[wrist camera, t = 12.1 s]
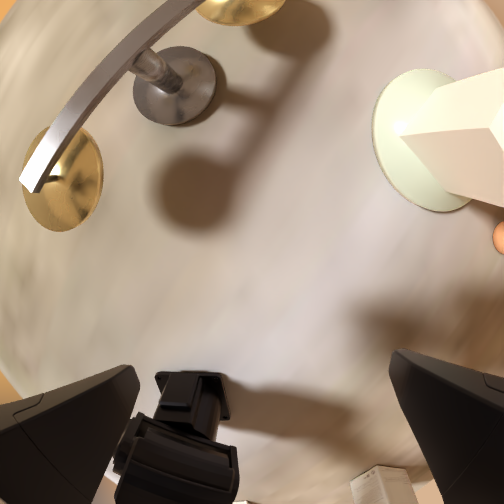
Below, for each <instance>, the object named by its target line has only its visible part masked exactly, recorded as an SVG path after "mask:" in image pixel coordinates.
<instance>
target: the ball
mask: <svg viewBox="0 0 504 504" xmlns="http://www.w3.org/2000/svg"><path fill="white" fill-rule="evenodd" d="M493 242H494V245H495V247H496V249H497V250H498V251H499V252H500V253H502V254H504V221H503V222H501V223H499V224H498V225H497V226H496V228H495V230H494V233H493Z"/></svg>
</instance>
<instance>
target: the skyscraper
mask: <svg viewBox="0 0 504 504" xmlns="http://www.w3.org/2000/svg"><path fill="white" fill-rule="evenodd" d="M233 504H251V503H249V502H248V501H247V500H243V501H234V502H233Z"/></svg>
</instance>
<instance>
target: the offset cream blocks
mask: <svg viewBox="0 0 504 504" xmlns="http://www.w3.org/2000/svg"><path fill="white" fill-rule="evenodd" d="M399 137H400V138H401V140H402V141H403V142H404V143H405V144H406V145H407V146H408V147H409V148H410V149H411V151H412V152H413V153H414V154H415V155H416V156H417V157H418V158H419V160H420V161H421V162H422V163H423V164H424V166H425V167H426V168H427V169H428V170H429V172H430V173H431V174H432V175H433V176H434V178H435V179H436V180H437V182H438V183H439V184H440V185H441V187H442V188H443V189H444V191H445V192H449V193H453V194H457V195H461V196H465V197H469V198H472V199H476V200H479V201H483V202H486V203H490V204H493V205H496V206H500V207H503V208H504V68H500V69H496V70H493V71H489V72H486V73H482V74H479V75H476V76H472V77H469V78H466V79H463V80H459V81H456V82H453V83H450V84H447V85H444V86H441V87H438V88H436V89H435V90H434V92H433V93H432V94H431V96H430V97H429V98H428V100H427V101H426V102H425V103H424V105H423V106H422V107H421V109H420V110H419V111H418V112H417V114H416V115H415V116H414V117H413V119H412V120H411V121H410V123H409V124H408V125H407V126H406V128H405V129H404V130H403V131H402V133H401V134H400V135H399Z"/></svg>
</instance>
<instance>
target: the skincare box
mask: <svg viewBox="0 0 504 504" xmlns="http://www.w3.org/2000/svg"><path fill="white" fill-rule="evenodd" d="M350 487H351V491H352V495H353V499H354V503H355V504H418V501H417V498H416V496H415V493H414V490H413V488H412V485H411V482H410V480H409V477H408V475H407V472H406V469H401V468H392V467H385V466H378V465H377V466H375V467H373V468H372V469H370V470H369V471H367V472H366V473H364V474H362V475H360V476H358V477H356V478H355V479H353V480H351V481H350Z"/></svg>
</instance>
